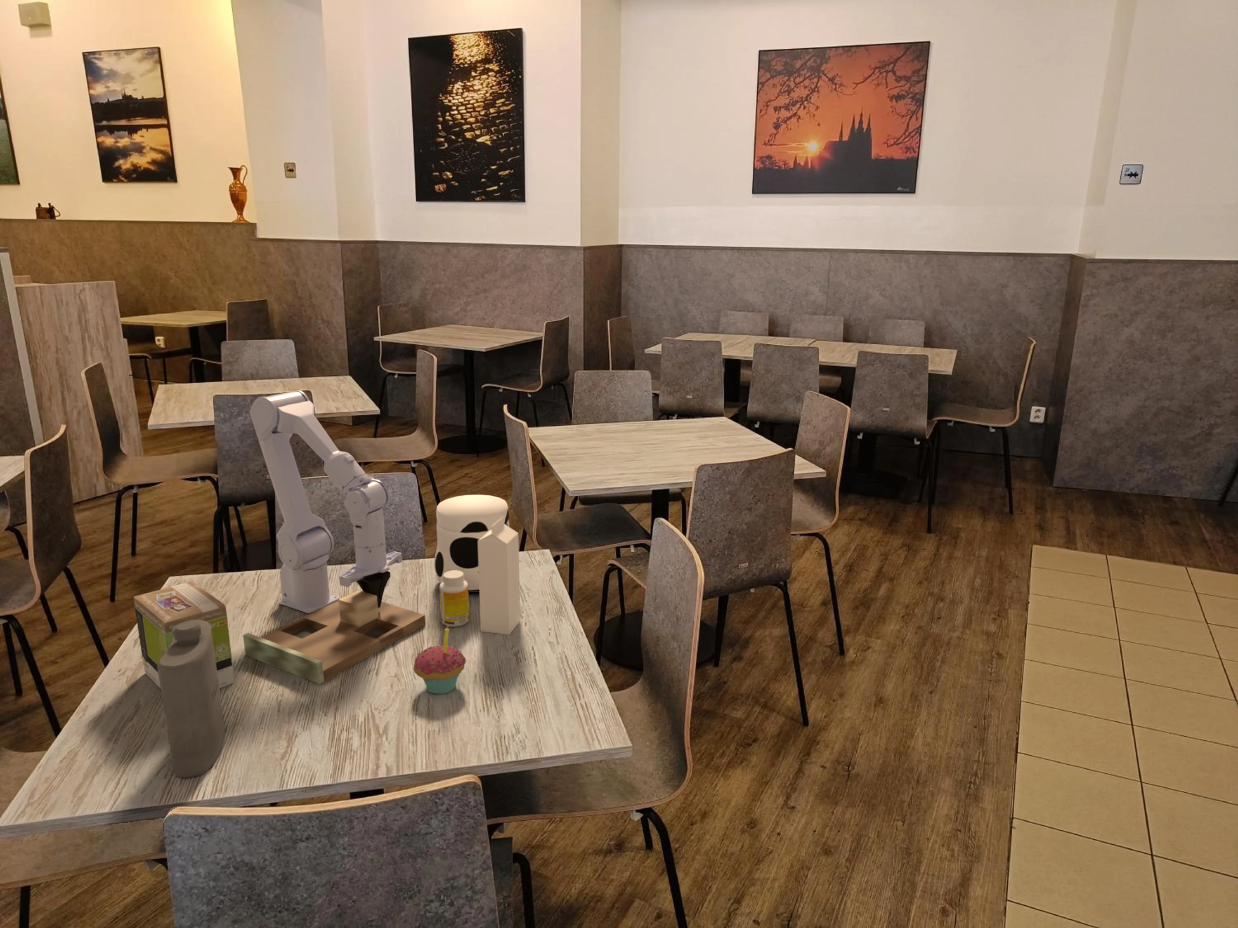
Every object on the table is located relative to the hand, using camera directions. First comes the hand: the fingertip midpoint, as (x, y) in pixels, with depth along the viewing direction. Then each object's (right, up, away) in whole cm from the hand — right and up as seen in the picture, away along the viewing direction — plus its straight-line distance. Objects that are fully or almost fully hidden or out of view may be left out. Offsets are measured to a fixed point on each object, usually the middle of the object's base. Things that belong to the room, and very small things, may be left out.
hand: (374, 606), depth 161 cm
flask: (-14, -14, -40) cm, 44 cm away
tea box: (-26, -9, -21) cm, 34 cm away
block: (-2, -2, -3) cm, 4 cm away
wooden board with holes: (-4, -5, -7) cm, 9 cm away
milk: (+25, -4, -1) cm, 26 cm away
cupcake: (+18, -10, -23) cm, 31 cm away
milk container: (+17, +2, +19) cm, 25 cm away
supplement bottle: (+16, -3, +1) cm, 16 cm away
